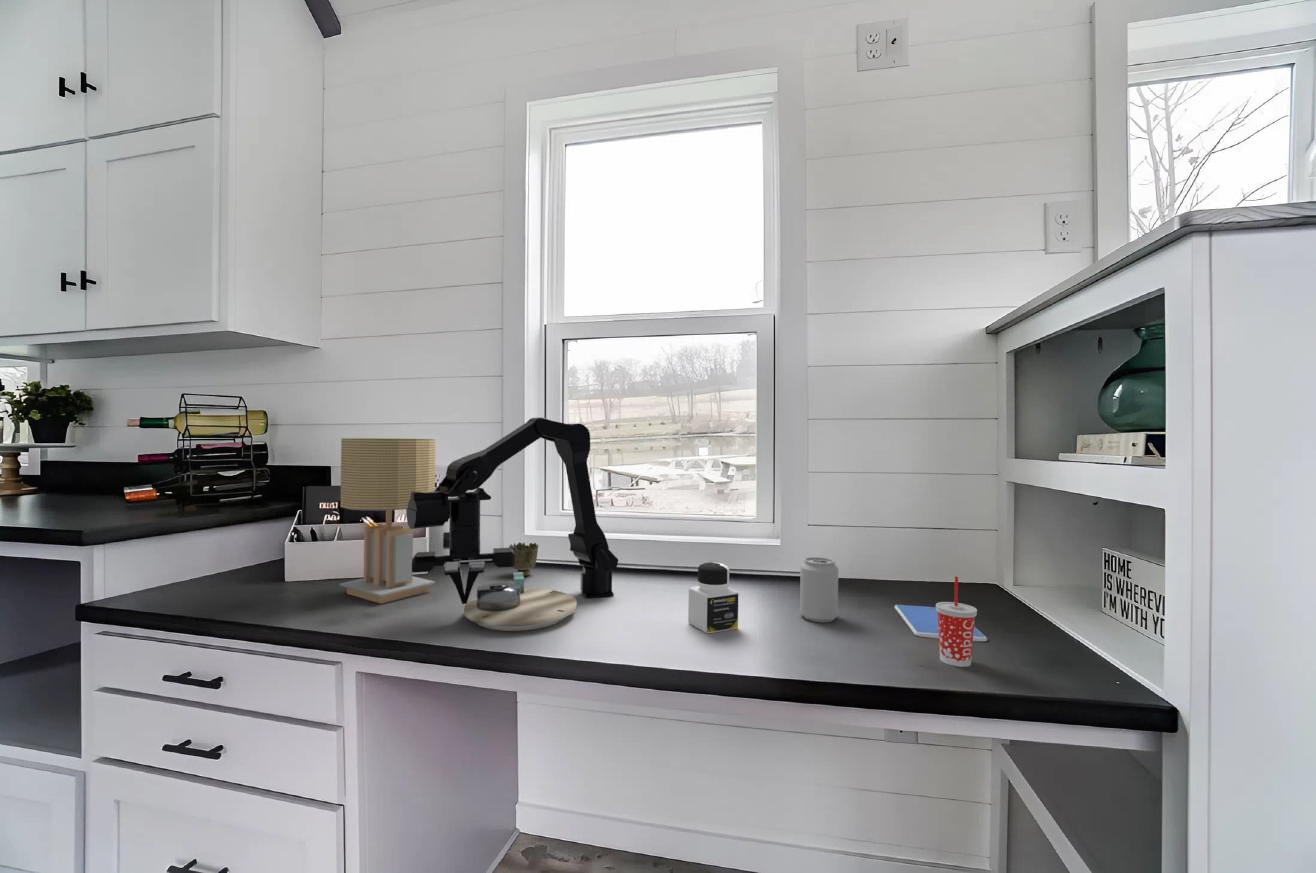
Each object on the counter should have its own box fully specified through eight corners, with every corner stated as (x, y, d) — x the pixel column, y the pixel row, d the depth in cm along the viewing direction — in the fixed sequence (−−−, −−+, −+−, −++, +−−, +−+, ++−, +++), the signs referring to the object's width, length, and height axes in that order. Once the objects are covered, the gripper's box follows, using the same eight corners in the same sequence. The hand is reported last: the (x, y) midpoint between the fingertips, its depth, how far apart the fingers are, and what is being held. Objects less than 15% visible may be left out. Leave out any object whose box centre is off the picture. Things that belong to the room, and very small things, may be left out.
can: (840, 615, 118) (840, 557, 118) (835, 625, 111) (835, 564, 111) (803, 610, 121) (804, 553, 121) (796, 620, 115) (797, 560, 115)
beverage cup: (947, 668, 91) (948, 581, 91) (927, 654, 97) (928, 572, 97) (984, 668, 92) (986, 581, 92) (962, 654, 98) (963, 572, 98)
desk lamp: (451, 590, 133) (453, 439, 133) (371, 610, 117) (373, 439, 117) (401, 578, 144) (403, 438, 144) (321, 595, 127) (323, 438, 127)
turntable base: (560, 600, 126) (560, 593, 126) (573, 626, 109) (573, 618, 109) (474, 606, 121) (474, 599, 121) (474, 634, 104) (474, 627, 104)
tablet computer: (893, 609, 125) (893, 603, 125) (955, 613, 123) (955, 607, 123) (915, 639, 106) (915, 632, 106) (989, 645, 104) (989, 637, 104)
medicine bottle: (707, 634, 106) (707, 569, 106) (687, 623, 112) (688, 562, 112) (738, 629, 109) (739, 566, 109) (717, 618, 115) (718, 559, 115)
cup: (541, 572, 152) (542, 542, 152) (532, 579, 144) (533, 547, 144) (514, 571, 152) (514, 541, 152) (504, 578, 145) (504, 546, 145)
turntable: (597, 602, 120) (597, 583, 120) (527, 634, 100) (527, 611, 100) (517, 588, 130) (517, 570, 130) (439, 614, 111) (439, 593, 111)
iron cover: (528, 602, 115) (529, 583, 116) (499, 613, 108) (499, 592, 108) (497, 596, 119) (498, 577, 119) (467, 607, 112) (467, 586, 112)
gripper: (511, 516, 122) (511, 589, 122) (417, 519, 117) (417, 595, 117) (514, 524, 112) (514, 603, 112) (411, 528, 106) (411, 612, 106)
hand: (464, 603), depth 112 cm, fingers closed
